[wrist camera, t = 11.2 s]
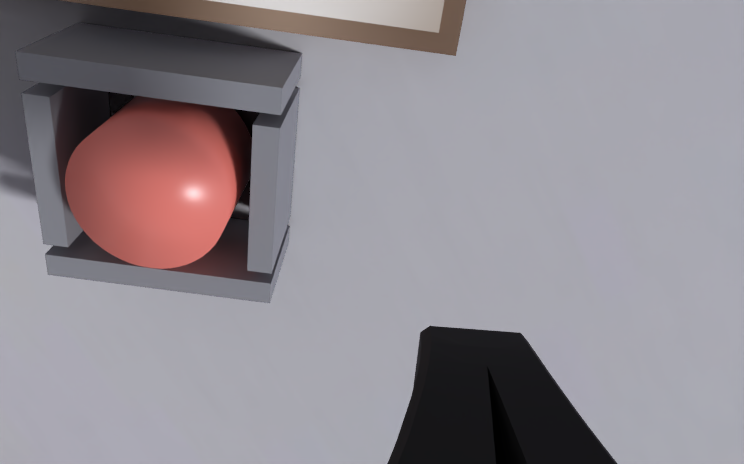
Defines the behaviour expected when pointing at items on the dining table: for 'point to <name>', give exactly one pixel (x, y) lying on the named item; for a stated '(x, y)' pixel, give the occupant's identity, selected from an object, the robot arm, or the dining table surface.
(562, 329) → the dining table surface
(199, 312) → the dining table surface
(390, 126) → the dining table surface
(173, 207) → the button
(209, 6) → the brown flat wooden board
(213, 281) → the button housing
